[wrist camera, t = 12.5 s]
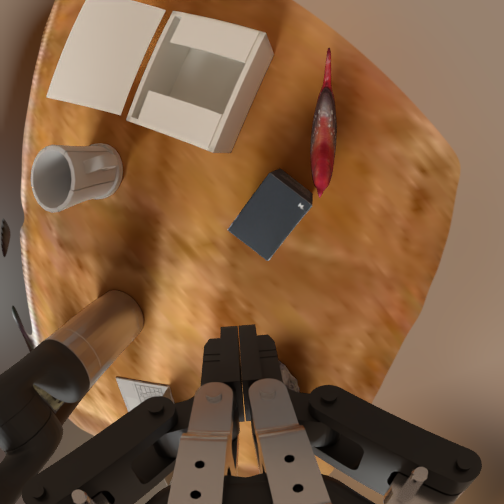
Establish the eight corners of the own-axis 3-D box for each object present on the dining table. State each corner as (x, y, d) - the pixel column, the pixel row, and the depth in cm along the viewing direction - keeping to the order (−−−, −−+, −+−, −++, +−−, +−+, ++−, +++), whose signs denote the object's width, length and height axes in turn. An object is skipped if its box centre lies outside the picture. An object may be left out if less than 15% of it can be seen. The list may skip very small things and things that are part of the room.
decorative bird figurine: (306, 188, 42) (306, 198, 33) (315, 60, 37) (317, 34, 27) (328, 191, 42) (334, 202, 32) (337, 62, 36) (345, 38, 27)
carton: (274, 54, 37) (265, 31, 29) (230, 152, 42) (211, 152, 34) (195, 32, 38) (171, 9, 29) (156, 124, 43) (123, 120, 34)
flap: (165, 10, 29) (90, -9, 24) (120, 115, 33) (46, 97, 29) (165, 11, 29) (91, -7, 25) (120, 115, 34) (48, 97, 29)
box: (279, 167, 42) (270, 171, 32) (313, 193, 42) (315, 205, 32) (244, 213, 44) (225, 230, 34) (277, 238, 45) (268, 263, 35)
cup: (104, 123, 44) (53, 120, 32) (141, 158, 44) (93, 162, 33) (73, 175, 47) (22, 184, 36) (106, 210, 48) (57, 227, 37)
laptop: (116, 375, 59) (84, 414, 47) (171, 384, 57) (143, 430, 44) (139, 433, 64) (116, 471, 52) (188, 443, 62) (169, 486, 49)
